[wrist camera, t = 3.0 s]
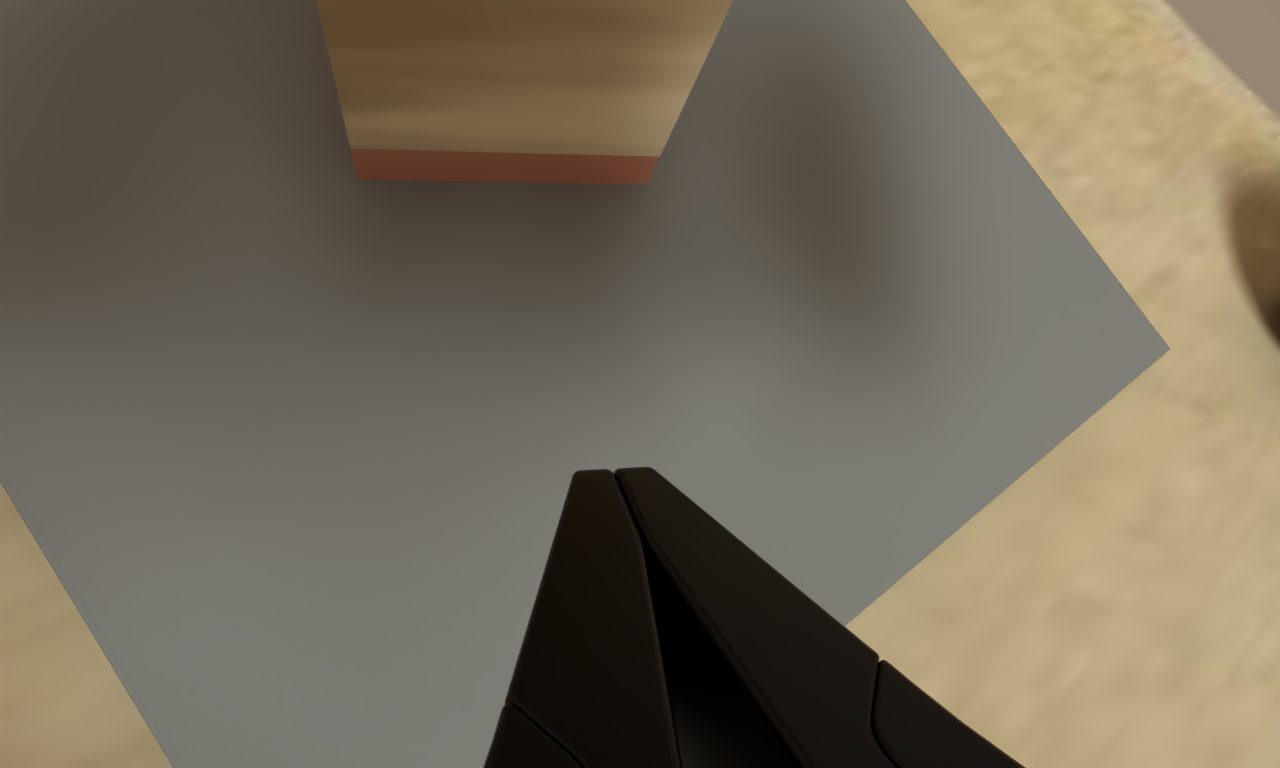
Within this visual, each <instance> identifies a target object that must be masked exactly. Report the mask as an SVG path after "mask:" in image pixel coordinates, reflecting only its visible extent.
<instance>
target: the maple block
mask: <svg viewBox="0 0 1280 768" xmlns="http://www.w3.org/2000/svg"><path fill="white" fill-rule="evenodd" d="M732 2H733V0H316V3H317V7H318V12H319V16H320V20H321V24H322V29H323V33H324V37H325V41H326V46H327V50H328V54H329V58H330V63H331V67H332V71H333V76H334V80H335V84H336V88H337V93H338V97H339V101H340V105H341V110H342V114H343V118H344V122H345V127H346V131H347V135H348V140H349V144H350V148H351V152H352V157H353V161H354V165H355V169H356V174H357V178H358V179H368V180H424V181H480V182H536V183H591V184H647V183H648V181H649V179H650V177H651V175H652V173H653V171H654V169H655V166H656V164H657V162H658V160H659V158H660V156H661V154H662V151H663V149H664V147H665V145H666V143H667V141H668V139H669V136H670V134H671V132H672V130H673V128H674V126H675V124H676V122H677V119H678V117H679V115H680V113H681V111H682V109H683V107H684V104H685V102H686V100H687V98H688V96H689V94H690V92H691V90H692V87H693V85H694V83H695V81H696V79H697V77H698V75H699V72H700V70H701V68H702V66H703V64H704V62H705V60H706V57H707V55H708V53H709V51H710V49H711V47H712V45H713V43H714V40H715V38H716V36H717V34H718V32H719V30H720V28H721V25H722V23H723V21H724V19H725V17H726V15H727V13H728V10H729V8H730V6H731V4H732Z"/></svg>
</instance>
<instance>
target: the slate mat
mask: <svg viewBox="0 0 1280 768" xmlns="http://www.w3.org/2000/svg"><path fill="white" fill-rule="evenodd" d="M1169 350H1170V348H1169V347H1168V345H1167V344H1166V343H1165V342H1164V340H1163V339H1162V338H1161V336H1160V335H1159V334H1158V332H1157V331H1156V330H1155V328H1154V327H1153V326H1152V324H1151V323H1150V322H1149V320H1148V319H1147V318H1146V316H1145V315H1144V314H1143V313H1142V311H1141V310H1140V309H1139V307H1138V306H1137V305H1136V303H1135V302H1134V301H1133V299H1132V298H1131V297H1130V295H1129V294H1128V293H1127V291H1126V290H1125V289H1124V288H1123V286H1122V285H1121V284H1120V282H1119V281H1118V280H1117V278H1116V277H1115V276H1114V274H1113V273H1112V272H1111V270H1110V269H1109V268H1108V266H1107V265H1106V264H1105V263H1104V261H1103V260H1102V259H1101V257H1100V256H1099V255H1098V253H1097V252H1096V251H1095V249H1094V248H1093V247H1092V245H1091V244H1090V243H1089V241H1088V240H1087V239H1086V237H1085V236H1084V235H1083V234H1082V232H1081V231H1080V230H1079V228H1078V227H1077V226H1076V224H1075V223H1074V222H1073V220H1072V219H1071V218H1070V216H1069V215H1068V214H1067V212H1066V211H1065V210H1064V209H1063V207H1062V206H1061V205H1060V203H1059V202H1058V201H1057V199H1056V198H1055V197H1054V195H1053V194H1052V193H1051V191H1050V190H1049V189H1048V187H1047V186H1046V185H1045V184H1044V182H1043V181H1042V180H1041V178H1040V177H1039V176H1038V174H1037V173H1036V172H1035V170H1034V169H1033V168H1032V166H1031V165H1030V164H1029V162H1028V161H1027V160H1026V159H1025V157H1024V156H1023V155H1022V153H1021V152H1020V151H1019V149H1018V148H1017V147H1016V145H1015V144H1014V143H1013V141H1012V140H1011V139H1010V137H1009V136H1008V135H1007V133H1006V132H1005V131H1004V130H1003V128H1002V127H1001V126H1000V124H999V123H998V122H997V120H996V119H995V118H994V116H993V115H992V114H991V112H990V111H989V110H988V108H987V107H986V106H985V105H984V103H983V102H982V101H981V99H980V98H979V97H978V95H977V94H976V93H975V91H974V90H973V89H972V87H971V86H970V85H969V83H968V82H967V81H966V80H965V78H964V77H963V76H962V74H961V73H960V72H959V70H958V69H957V68H956V66H955V65H954V64H953V62H952V61H951V60H950V58H949V57H948V56H947V54H946V53H945V52H944V51H943V49H942V48H941V47H940V45H939V44H938V43H937V41H936V40H935V39H934V37H933V36H932V35H931V33H930V32H929V31H928V29H927V28H926V27H925V26H924V24H923V23H922V22H921V20H920V19H919V18H918V16H917V15H916V14H915V12H914V11H913V10H912V8H911V7H910V6H909V4H908V3H907V2H906V1H905V0H733V2H732V4H731V6H730V8H729V10H728V13H727V15H726V17H725V19H724V21H723V23H722V25H721V28H720V30H719V32H718V34H717V36H716V38H715V40H714V43H713V45H712V47H711V49H710V51H709V53H708V55H707V57H706V60H705V62H704V64H703V66H702V68H701V70H700V72H699V75H698V77H697V79H696V81H695V83H694V85H693V87H692V90H691V92H690V94H689V96H688V98H687V100H686V102H685V104H684V107H683V109H682V111H681V113H680V115H679V117H678V119H677V122H676V124H675V126H674V128H673V130H672V132H671V134H670V136H669V139H668V141H667V143H666V145H665V147H664V149H663V151H662V154H661V156H660V158H659V160H658V162H657V164H656V166H655V169H654V171H653V173H652V175H651V177H650V179H649V181H648V183H647V184H591V183H536V182H480V181H424V180H368V179H358V178H357V174H356V169H355V165H354V161H353V157H352V152H351V148H350V144H349V140H348V135H347V131H346V127H345V122H344V118H343V114H342V110H341V105H340V101H339V97H338V93H337V88H336V84H335V80H334V76H333V71H332V67H331V63H330V58H329V54H328V50H327V46H326V41H325V37H324V33H323V29H322V24H321V20H320V16H319V12H318V7H317V3H316V0H0V482H1V484H2V485H3V487H4V489H5V490H6V492H7V494H8V495H9V497H10V499H11V500H12V502H13V504H14V505H15V507H16V508H17V510H18V512H19V513H20V515H21V517H22V518H23V520H24V522H25V523H26V525H27V527H28V528H29V530H30V532H31V533H32V535H33V537H34V538H35V540H36V542H37V543H38V545H39V547H40V548H41V550H42V551H43V553H44V555H45V556H46V558H47V560H48V561H49V563H50V565H51V566H52V568H53V570H54V571H55V573H56V575H57V576H58V578H59V580H60V581H61V583H62V585H63V586H64V588H65V590H66V591H67V593H68V595H69V596H70V598H71V599H72V601H73V603H74V604H75V606H76V608H77V609H78V611H79V613H80V614H81V616H82V618H83V619H84V621H85V623H86V624H87V626H88V628H89V629H90V631H91V633H92V634H93V636H94V638H95V639H96V641H97V642H98V644H99V646H100V647H101V649H102V651H103V652H104V654H105V656H106V657H107V659H108V661H109V662H110V664H111V666H112V667H113V669H114V671H115V672H116V674H117V676H118V677H119V679H120V681H121V682H122V684H123V685H124V687H125V689H126V690H127V692H128V694H129V695H130V697H131V699H132V700H133V702H134V704H135V705H136V707H137V709H138V710H139V712H140V714H141V715H142V717H143V719H144V720H145V722H146V724H147V725H148V727H149V729H150V730H151V732H152V733H153V735H154V737H155V738H156V740H157V742H158V743H159V745H160V747H161V748H162V750H163V752H164V753H165V755H166V757H167V758H168V760H169V762H170V763H171V765H172V767H173V768H483V766H484V763H485V760H486V757H487V755H488V752H489V749H490V746H491V743H492V740H493V736H494V733H495V730H496V726H497V723H498V720H499V716H500V713H501V710H502V708H503V707H504V706H505V698H506V695H507V692H508V688H509V685H510V682H511V678H512V675H513V672H514V669H515V665H516V662H517V659H518V655H519V652H520V649H521V645H522V642H523V639H524V635H525V632H526V629H527V625H528V622H529V619H530V615H531V612H532V609H533V605H534V602H535V599H536V595H537V592H538V589H539V586H540V582H541V579H542V576H543V572H544V569H545V566H546V562H547V559H548V556H549V552H550V549H551V546H552V542H553V539H554V536H555V532H556V529H557V526H558V522H559V519H560V516H561V512H562V509H563V506H564V502H565V499H566V496H567V492H568V489H569V486H570V482H571V479H572V476H573V474H574V473H575V472H576V471H579V470H595V469H608V470H610V471H612V472H613V473H614V471H615V470H616V469H618V468H631V467H651V468H653V469H655V470H656V471H657V472H658V473H660V474H661V475H662V476H663V477H664V478H666V479H667V480H668V481H669V482H670V483H672V484H673V485H674V486H675V487H677V488H678V489H679V490H680V491H681V492H683V493H684V494H685V495H686V496H687V497H689V498H690V499H691V500H692V501H693V502H695V503H696V504H697V505H698V506H699V507H701V508H702V509H703V510H704V511H706V512H707V513H708V514H709V515H710V516H712V517H713V518H714V519H715V520H716V521H718V522H719V523H720V524H721V525H722V526H724V527H725V528H726V529H727V530H729V531H730V532H731V533H732V534H733V535H735V536H736V537H737V538H738V539H739V540H741V541H742V542H743V543H744V544H745V545H747V546H748V547H749V548H750V549H751V550H753V551H754V552H755V553H756V554H758V555H759V556H760V557H761V558H762V559H764V560H765V561H766V562H767V563H768V564H770V565H771V566H772V567H773V568H774V569H776V570H777V571H778V572H779V573H780V574H782V575H783V576H784V577H785V578H787V579H788V580H789V581H790V582H791V583H793V584H794V585H795V586H796V587H797V588H799V589H800V590H801V591H802V592H803V593H805V594H806V595H807V596H808V597H809V598H811V599H812V600H813V601H814V602H816V603H817V604H818V605H819V606H820V607H822V608H823V609H824V610H825V611H826V612H828V613H829V614H830V615H831V616H832V617H834V618H835V619H836V620H837V621H838V622H840V623H841V624H842V625H843V626H846V625H847V624H848V623H849V622H850V621H851V620H853V619H854V618H855V617H856V616H857V615H858V614H860V613H861V612H862V611H863V610H864V609H866V608H867V607H868V606H869V605H870V604H871V603H873V602H874V601H875V600H876V599H877V598H878V597H880V596H881V595H882V594H883V593H884V592H885V591H887V590H888V589H889V588H890V587H891V586H893V585H894V584H895V583H896V582H897V581H898V580H900V579H901V578H902V577H903V576H904V575H905V574H907V573H908V572H909V571H910V570H911V569H913V568H914V567H915V566H916V565H917V564H918V563H920V562H921V561H922V560H923V559H924V558H925V557H927V556H928V555H929V554H930V553H931V552H932V551H934V550H935V549H936V548H937V547H938V546H940V545H941V544H942V543H943V542H944V541H945V540H947V539H948V538H949V537H950V536H951V535H952V534H954V533H955V532H956V531H957V530H958V529H959V528H961V527H962V526H963V525H964V524H965V523H967V522H968V521H969V520H970V519H971V518H972V517H974V516H975V515H976V514H977V513H978V512H979V511H981V510H982V509H983V508H984V507H985V506H986V505H988V504H989V503H990V502H991V501H992V500H994V499H995V498H996V497H997V496H998V495H999V494H1001V493H1002V492H1003V491H1004V490H1005V489H1006V488H1008V487H1009V486H1010V485H1011V484H1012V483H1014V482H1015V481H1016V480H1017V479H1018V478H1019V477H1021V476H1022V475H1023V474H1024V473H1025V472H1026V471H1028V470H1029V469H1030V468H1031V467H1032V466H1033V465H1035V464H1036V463H1037V462H1038V461H1039V460H1041V459H1042V458H1043V457H1044V456H1045V455H1046V454H1048V453H1049V452H1050V451H1051V450H1052V449H1053V448H1055V447H1056V446H1057V445H1058V444H1059V443H1060V442H1062V441H1063V440H1064V439H1065V438H1066V437H1068V436H1069V435H1070V434H1071V433H1072V432H1073V431H1075V430H1076V429H1077V428H1078V427H1079V426H1080V425H1082V424H1083V423H1084V422H1085V421H1086V420H1088V419H1089V418H1090V417H1091V416H1092V415H1093V414H1095V413H1096V412H1097V411H1098V410H1099V409H1100V408H1102V407H1103V406H1104V405H1105V404H1106V403H1107V402H1109V401H1110V400H1111V399H1112V398H1113V397H1115V396H1116V395H1117V394H1118V393H1119V392H1120V391H1122V390H1123V389H1124V388H1125V387H1126V386H1127V385H1129V384H1130V383H1131V382H1132V381H1133V380H1134V379H1136V378H1137V377H1138V376H1139V375H1140V374H1142V373H1143V372H1144V371H1145V370H1146V369H1147V368H1149V367H1150V366H1151V365H1152V364H1153V363H1154V362H1156V361H1157V360H1158V359H1159V358H1160V357H1162V356H1163V355H1164V354H1165V353H1166V352H1167V351H1169Z"/></svg>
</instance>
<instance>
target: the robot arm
mask: <svg viewBox="0 0 1280 768" xmlns="http://www.w3.org/2000/svg"><path fill="white" fill-rule="evenodd" d="M483 768H1025V767H1024V766H1022V765H1021V764H1020V763H1018V762H1017V761H1015V760H1014V759H1013V758H1011V757H1010V756H1009V755H1007V754H1006V753H1004V752H1003V751H1002V750H1000V749H999V748H997V747H996V746H995V745H993V744H992V743H991V742H989V741H988V740H986V739H985V738H984V737H982V736H981V735H980V734H978V733H977V732H975V731H974V730H973V729H971V728H970V727H969V726H967V725H966V724H964V723H963V722H962V721H961V720H959V719H958V718H957V717H956V716H954V715H953V714H952V713H951V712H949V711H948V710H947V709H945V708H944V707H943V706H942V705H940V704H939V703H938V702H937V701H935V700H934V699H933V698H932V697H930V696H929V695H928V694H926V693H925V692H924V691H923V690H921V689H920V688H919V687H918V686H916V685H915V684H914V683H913V682H911V681H910V680H909V679H908V678H907V677H905V676H904V675H903V674H902V673H901V672H899V671H898V670H897V669H896V668H895V667H893V666H892V665H891V664H890V663H888V662H887V661H885V660H882V661H880V662H879V655H878V654H877V653H876V652H875V651H874V650H872V649H871V648H870V647H869V646H868V645H866V644H865V643H864V642H863V641H861V640H860V639H859V638H858V637H857V636H855V635H854V634H853V633H852V632H851V631H849V630H848V629H847V628H846V627H845V626H843V625H842V624H841V623H840V622H838V621H837V620H836V619H835V618H834V617H832V616H831V615H830V614H829V613H828V612H826V611H825V610H824V609H823V608H822V607H820V606H819V605H818V604H817V603H816V602H814V601H813V600H812V599H811V598H809V597H808V596H807V595H806V594H805V593H803V592H802V591H801V590H800V589H799V588H797V587H796V586H795V585H794V584H793V583H791V582H790V581H789V580H788V579H787V578H785V577H784V576H783V575H782V574H780V573H779V572H778V571H777V570H776V569H774V568H773V567H772V566H771V565H770V564H768V563H767V562H766V561H765V560H764V559H762V558H761V557H760V556H759V555H758V554H756V553H755V552H754V551H753V550H751V549H750V548H749V547H748V546H747V545H745V544H744V543H743V542H742V541H741V540H739V539H738V538H737V537H736V536H735V535H733V534H732V533H731V532H730V531H729V530H727V529H726V528H725V527H724V526H722V525H721V524H720V523H719V522H718V521H716V520H715V519H714V518H713V517H712V516H710V515H709V514H708V513H707V512H706V511H704V510H703V509H702V508H701V507H699V506H698V505H697V504H696V503H695V502H693V501H692V500H691V499H690V498H689V497H687V496H686V495H685V494H684V493H683V492H681V491H680V490H679V489H678V488H677V487H675V486H674V485H673V484H672V483H670V482H669V481H668V480H667V479H666V478H664V477H663V476H662V475H661V474H660V473H658V472H657V471H656V470H655V469H653V468H651V467H631V468H618V469H616V470H615V471H614V473H613V472H612V471H610V470H608V469H595V470H579V471H576V472H575V473H574V474H573V476H572V479H571V482H570V486H569V489H568V492H567V496H566V499H565V502H564V506H563V509H562V512H561V516H560V519H559V522H558V526H557V529H556V532H555V536H554V539H553V542H552V546H551V549H550V552H549V556H548V559H547V562H546V566H545V569H544V572H543V576H542V579H541V582H540V586H539V589H538V592H537V595H536V599H535V602H534V605H533V609H532V612H531V615H530V619H529V622H528V625H527V629H526V632H525V635H524V639H523V642H522V645H521V649H520V652H519V655H518V659H517V662H516V665H515V669H514V672H513V675H512V678H511V682H510V685H509V688H508V692H507V695H506V698H505V706H504V707H503V708H502V710H501V713H500V716H499V720H498V723H497V726H496V730H495V733H494V736H493V740H492V743H491V746H490V749H489V752H488V755H487V757H486V760H485V763H484V766H483Z"/></svg>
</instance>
